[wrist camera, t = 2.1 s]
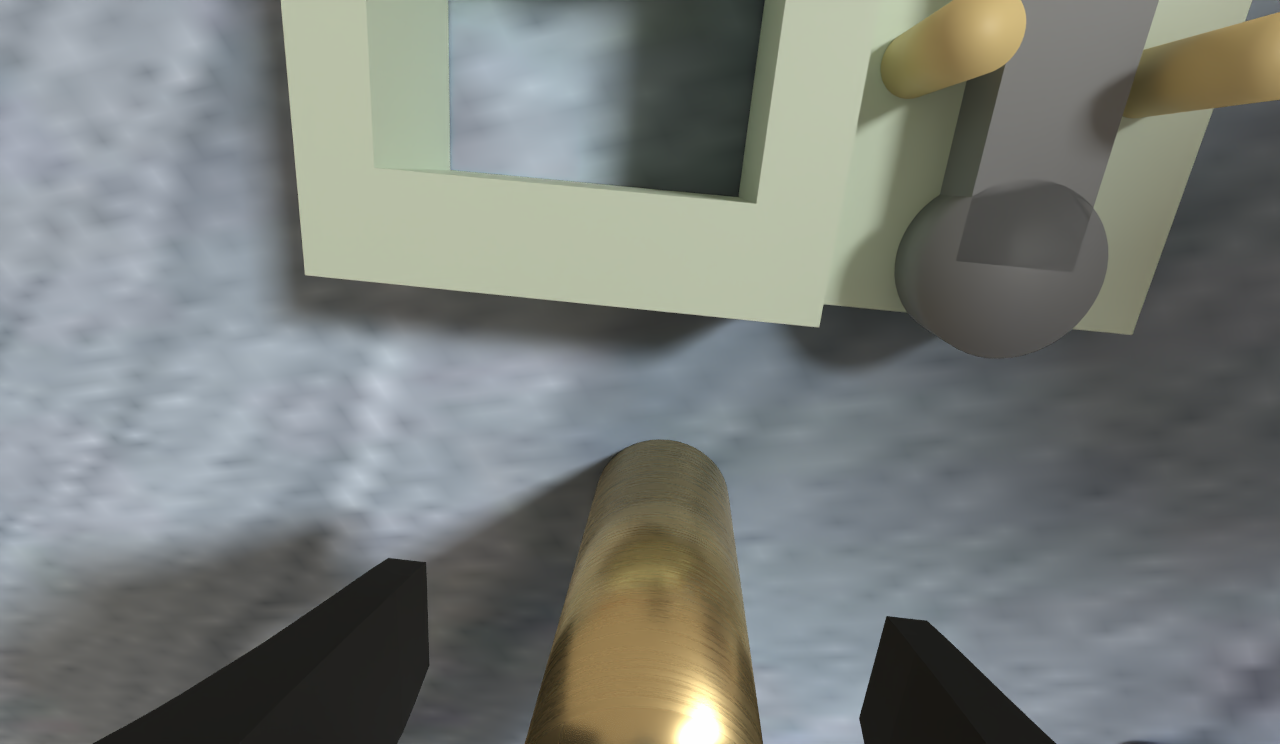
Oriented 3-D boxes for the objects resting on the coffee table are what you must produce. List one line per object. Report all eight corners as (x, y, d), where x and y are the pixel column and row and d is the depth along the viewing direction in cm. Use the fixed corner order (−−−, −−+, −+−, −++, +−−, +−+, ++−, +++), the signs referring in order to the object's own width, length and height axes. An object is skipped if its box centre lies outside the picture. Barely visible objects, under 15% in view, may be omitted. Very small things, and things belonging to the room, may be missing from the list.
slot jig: (1266, -187, 9) (1586, -386, 6) (1088, 341, 12) (1240, 403, 9) (372, -246, 10) (216, -457, 6) (394, 271, 12) (291, 305, 9)
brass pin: (737, 447, 13) (792, 729, 6) (719, 563, 14) (751, 913, 7) (600, 432, 13) (515, 693, 7) (592, 549, 14) (509, 880, 7)
